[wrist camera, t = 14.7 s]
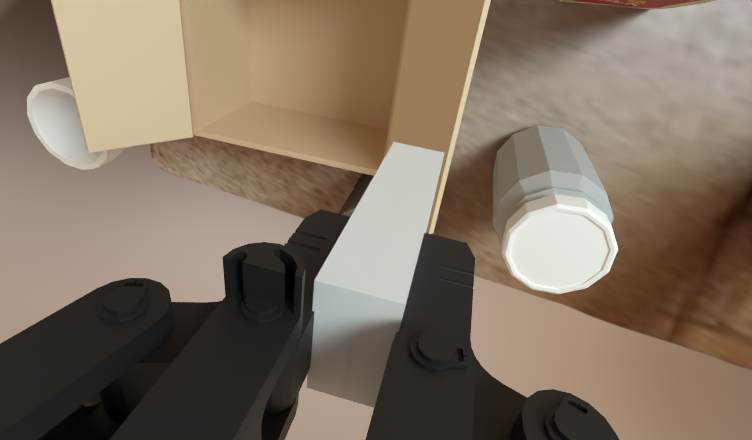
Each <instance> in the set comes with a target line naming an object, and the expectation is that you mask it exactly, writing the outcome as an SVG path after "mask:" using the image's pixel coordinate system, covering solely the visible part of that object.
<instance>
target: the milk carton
mask: <svg viewBox="0 0 752 440" xmlns="http://www.w3.org/2000/svg"><path fill="white" fill-rule="evenodd" d="M560 1H563V2H574V3H585V4H596V5H606V6H617V7H628V8H639V9H649V10H652V9H665V8H674V7H681V6H687V5H693V4H700V3H706V2H710V1H714V0H560Z"/></svg>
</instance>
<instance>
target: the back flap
mask: <svg viewBox="0 0 752 440" xmlns="http://www.w3.org/2000/svg"><path fill="white" fill-rule="evenodd" d="M51 3H52V7H53V11H54V15H55V19H56V24H57V28H58V31H59V36H60V40H61V44H62V48H63V52H64V56H65V60H66V64H67V69H68V73H69V77H70V81H71V85H72V89H73V93H74V97H75V101H76V105H77V109H78V114H79V118H80V122H81V126H82V130H83V134H84V138H85V142H86V146H87V150H88V152H89V153H90V152H97V151H104V150H111V149H117V148H124V147H130V146H136V145H144V144H151V143H157V142H164V141H171V140H177V139H184V138H191V137H193V132H192V122H191V112H190V102H189V92H188V82H187V72H186V62H185V53H184V43H183V33H182V23H181V13H180V3H179V0H51Z"/></svg>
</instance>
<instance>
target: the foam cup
mask: <svg viewBox="0 0 752 440" xmlns="http://www.w3.org/2000/svg"><path fill="white" fill-rule="evenodd" d="M27 116H28V118H29V120H30V123H31V125H32V127H33V130H34V132H35V134H36V136H37V137H38V138H39V140H40V141H41V142H42V144H43V145H44V146H45V147H46V149H47V150H48V151H49V152H50V153H51V154H53V155H54V156H55V157H57V158H58V159H59V160H61V161H62V162H64V163H65V164H66V165H69V166H72V167H75V168H78V169H81V170H88V169H95V168H99V167H101V166H103V165H105V164H107V163H109V162H111V161H113V160H114V159H115V158H116V157H117V156H118V155H119V154H120V153H121V152H122V151H124V150H125V149H126V148H128V147H124V148H117V149H111V150H104V151H97V152H90V153H89V152H88V150H87V146H86V142H85V138H84V134H83V130H82V126H81V122H80V118H79V114H78V109H77V105H76V101H75V97H74V93H73V89H72V85H71V81H70V77H68V78H63V79H59V80H55V81H51V82H47V83H43V84H39V85H35V87H34V88H33V89H32V91H31V93H30V94H29V95H28V97H27Z"/></svg>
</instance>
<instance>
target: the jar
mask: <svg viewBox="0 0 752 440" xmlns="http://www.w3.org/2000/svg"><path fill="white" fill-rule="evenodd" d="M613 219H614V217H613V214H612V210H611V207H610V203H609V200H608V197H607V193H606V191H605V189H604V187H603V185H602V183H601V181H600V179H599V177H598V175H597V173H596V171H595V170H594V168H593V166H592V164H591V162H590V160H589V158H588V156H587V154H586V152H585V150H584V148H583V146H582V144H581V142H580V141H578V140H577V139H576V138H574V137H573V136H572V135H570V134H569V133H568V132H566V131H565V130H564V129H563V128H556V127H548V126H539V125H536V126H534V127H531V128H528V129H526V130H523V131H520V132H518V133H515V134H513V135H512V136H511V137H510V138H509V139H508V140H507V141H506V143H505V144H504V145H503V146H502V147H501V148H500V149H499V150H498V151H497V155H496V160H495V165H494V169H493V227H494V229H495V231H496V234H497V236H498V238H499V241H500V243H501V246H502V255H503V258H504V260H505V262H506V265H507V267H508V269H509V272H510V274H511V275H512V276H513V277H515V278H516V279H517V280H519V281H520V282H522V283H523V284H525V285H526V286H527V287H529V288H530V289H533V290H538V291H544V292H549V293H555V294H562V293H566V292H571V291H576V290H581V289H585V288H588V287H589V286H590V285H592V284H593V283H595V282H596V281H597V280H599V279H600V278H601V277H603V276H604V275H606V274H607V273H608V272H609V271H610V268H611V266H612V263H613V261H614V259H615V256H616V254H617V251H618V246H617V243H616V239H615V236H614V233H613V229H612V226H611V224H612V222H613Z"/></svg>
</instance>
